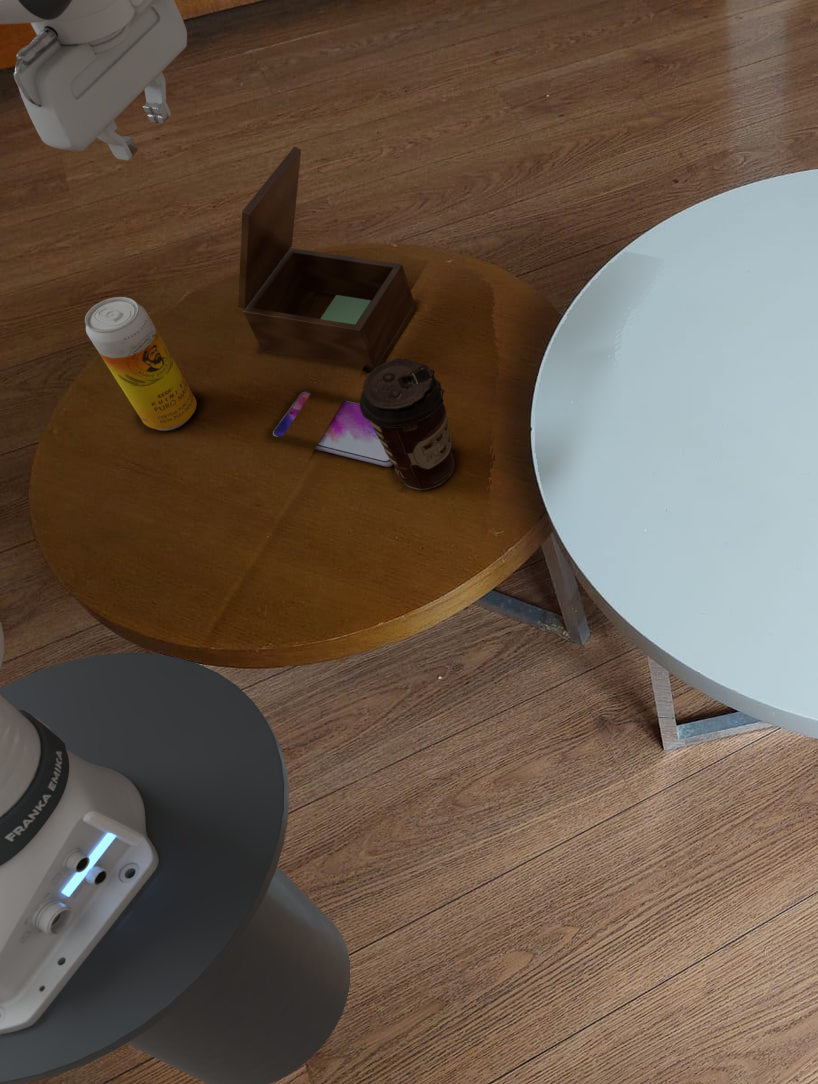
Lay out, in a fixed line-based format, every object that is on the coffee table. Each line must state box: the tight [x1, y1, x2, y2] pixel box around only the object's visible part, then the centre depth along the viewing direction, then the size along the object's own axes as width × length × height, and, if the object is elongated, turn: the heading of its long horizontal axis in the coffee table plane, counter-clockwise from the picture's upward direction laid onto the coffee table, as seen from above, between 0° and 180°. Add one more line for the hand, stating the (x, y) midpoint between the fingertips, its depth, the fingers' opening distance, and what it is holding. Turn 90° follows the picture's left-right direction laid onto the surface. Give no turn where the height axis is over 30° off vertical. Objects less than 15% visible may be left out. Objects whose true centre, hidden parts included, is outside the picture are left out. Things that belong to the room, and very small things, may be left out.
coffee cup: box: [359, 358, 455, 491], centre depth 115 cm, size 9×8×13 cm
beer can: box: [84, 296, 198, 432], centre depth 120 cm, size 6×6×15 cm
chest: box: [243, 247, 417, 374], centre depth 130 cm, size 15×12×7 cm
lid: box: [237, 145, 302, 311], centre depth 122 cm, size 15×12×1 cm
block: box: [319, 295, 372, 325], centre depth 129 cm, size 4×4×4 cm
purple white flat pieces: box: [272, 391, 394, 468], centre depth 123 cm, size 7×1×15 cm
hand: (144, 137), depth 111 cm, fingers open, 5 cm apart
